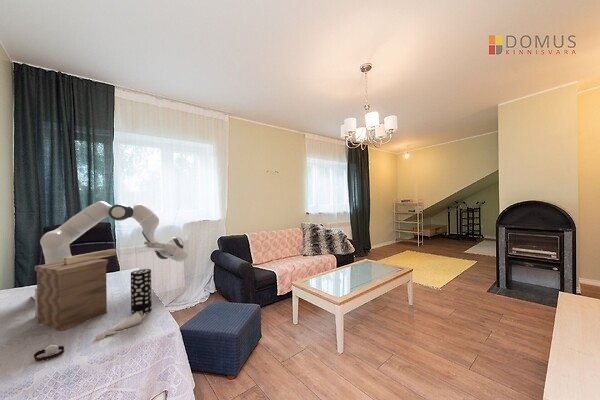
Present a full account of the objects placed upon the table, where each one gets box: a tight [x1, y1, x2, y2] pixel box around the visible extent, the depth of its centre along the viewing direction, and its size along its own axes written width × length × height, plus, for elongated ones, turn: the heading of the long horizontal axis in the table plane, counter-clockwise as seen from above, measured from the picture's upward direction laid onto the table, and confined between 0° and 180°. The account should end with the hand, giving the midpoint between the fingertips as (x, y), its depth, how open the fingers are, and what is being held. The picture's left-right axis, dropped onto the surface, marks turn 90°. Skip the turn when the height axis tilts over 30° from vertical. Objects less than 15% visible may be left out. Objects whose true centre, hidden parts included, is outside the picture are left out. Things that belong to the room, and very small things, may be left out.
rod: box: [64, 248, 117, 265], centre depth 116 cm, size 3×20×3 cm, turn 159°
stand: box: [34, 258, 109, 332], centre depth 109 cm, size 20×18×26 cm
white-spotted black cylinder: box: [130, 268, 153, 316], centre depth 114 cm, size 8×8×20 cm
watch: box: [33, 344, 65, 362], centre depth 82 cm, size 8×5×4 cm, turn 114°
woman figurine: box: [94, 312, 146, 341], centre depth 99 cm, size 12×4×18 cm
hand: (150, 242), depth 145 cm, fingers open, 8 cm apart
